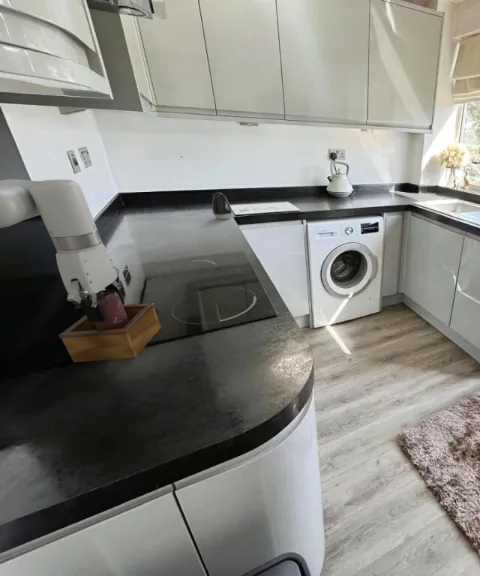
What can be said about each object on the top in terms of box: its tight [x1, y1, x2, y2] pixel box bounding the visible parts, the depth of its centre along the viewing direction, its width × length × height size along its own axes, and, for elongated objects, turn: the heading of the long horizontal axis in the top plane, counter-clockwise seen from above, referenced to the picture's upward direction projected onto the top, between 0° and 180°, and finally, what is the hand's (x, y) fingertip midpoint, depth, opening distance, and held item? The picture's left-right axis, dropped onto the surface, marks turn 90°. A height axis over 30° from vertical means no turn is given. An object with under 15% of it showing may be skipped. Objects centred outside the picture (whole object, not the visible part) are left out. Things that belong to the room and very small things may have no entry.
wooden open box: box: [57, 302, 162, 363], centre depth 79 cm, size 13×13×8 cm
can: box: [85, 289, 129, 330], centre depth 78 cm, size 6×6×14 cm
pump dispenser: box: [211, 192, 233, 220], centre depth 190 cm, size 10×10×15 cm
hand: (107, 312), depth 77 cm, fingers open, 6 cm apart
